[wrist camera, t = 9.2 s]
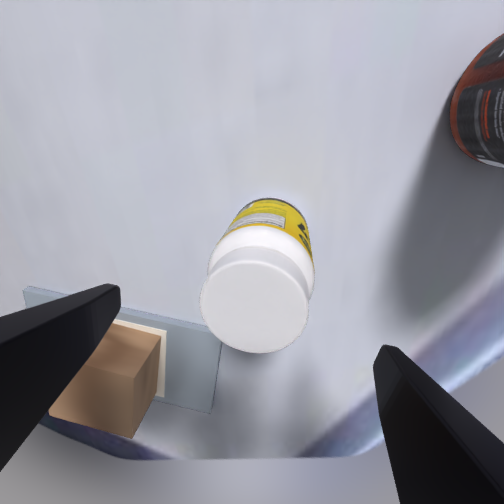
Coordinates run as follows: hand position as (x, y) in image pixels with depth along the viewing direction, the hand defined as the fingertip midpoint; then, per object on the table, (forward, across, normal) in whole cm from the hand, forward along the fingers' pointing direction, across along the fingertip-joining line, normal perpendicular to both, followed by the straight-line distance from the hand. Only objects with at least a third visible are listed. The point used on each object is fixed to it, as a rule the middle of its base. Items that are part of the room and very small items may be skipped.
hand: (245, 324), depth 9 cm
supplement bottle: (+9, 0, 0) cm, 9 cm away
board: (+9, +10, +13) cm, 19 cm away
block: (+8, +10, +13) cm, 18 cm away
